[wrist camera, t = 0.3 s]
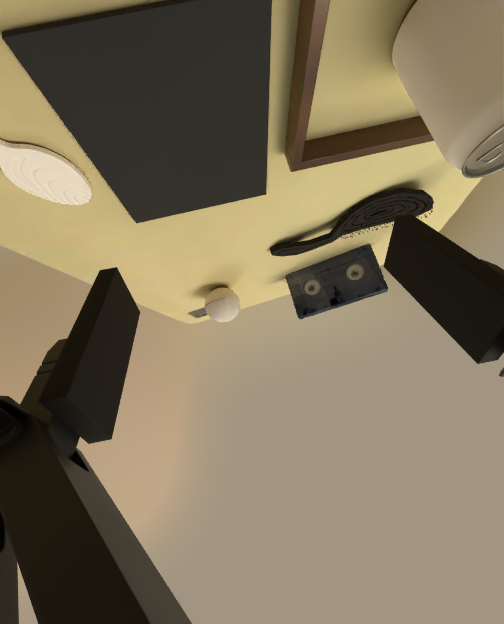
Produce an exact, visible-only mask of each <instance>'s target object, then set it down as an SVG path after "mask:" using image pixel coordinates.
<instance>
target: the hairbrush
mask: <svg viewBox="0 0 504 624" xmlns="http://www.w3.org/2000/svg"><path fill="white" fill-rule="evenodd" d="M416 203H417V204H416ZM433 203H434V201H433V198H432V197H431V196H430V195H429V194H427V193H426V192H425V191H423V190H417V189H406V188H397V189H394V190H390V191H387V192H383V193H380V194H376V195H373V196H370V197H368V198H367V199H365V200H364V201H362V202H360V203H359V204H357V205H356V206H354V207H353V208H352V209H351V210H350V211H349V212H348V213H347V214H346V215H345V216H344V217H343V218H342V219H341V220H340V221H339V222H338V223H337V224H336V226H335V227H334V228H333V229H332V230H331V232H330V233H328V234H325V235H323V236H320V237H317V238H314V239H311V240H307V241H300V242H293V243H287V244H282V245H277V246H274V247H273V248H271V249H270V251H271V254H272V255H274V256H291V255H298V254H301V253H304V252H307V251H310V250H313V249H316V248H318V247H321V246H323V245H326V244H328V243H331V242H333V241H335V240H336V239H338V238H339V237H341V236H342V235H344V236H345V235H346V234H349V233H352V232H355V231H358V230H361V229H364V230H365V228H368V229H370V228H369V227H373V226H374V228H375V226H377V225H379V226H380V224H385V223H387V224H388V223H390V222H393V221H395V217H399V216H404V215H410V214H412V215H413V216H415V217H416V216H418V215H421V214H423V213H424V214H425V212H427V211H428V212H429V210H431V209H433V207H432V206H433ZM431 212H432V210H431ZM429 214H430V213H429ZM418 217H419V216H418ZM425 217H427V216H425ZM421 218H422V217H421ZM392 226H393V225H392ZM385 227H386V226H385ZM387 227H388V226H387ZM376 228H377V227H376ZM382 228H383V227H382ZM376 230H378V229H376ZM372 231H373V230H372ZM358 232H359V231H358ZM360 232H361V231H360ZM362 232H363V231H362ZM367 232H368V231H367ZM356 233H357V232H356ZM352 234H354V233H352ZM358 234H360V233H358ZM363 234H364V233H363ZM346 236H347V235H346ZM354 236H355V235H354ZM350 237H351V236H350ZM352 237H353V236H352ZM341 238H342V237H341ZM343 238H344V237H343ZM347 238H348V237H347ZM345 239H346V238H345Z"/></svg>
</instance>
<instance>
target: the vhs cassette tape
mask: <svg viewBox="0 0 504 624" xmlns="http://www.w3.org/2000/svg"><path fill="white" fill-rule="evenodd" d="M383 278H384V277H383V275H382V272H381V269H380V268H379V264H378V262H377V260H376V256H375V255H374V252H373V250H372V247H371V245H370V244H368V245H365V246H362V247H360V248H358V249H355V250H352V251H349V252H347V253H344V254H341V255H339V256H336V257H334V258H331V259H329V260H326V261H323V262H320V263H318V264H315V265H312V266H310V267H307V268H305V269H302V270H299V271H297V272H294V273H291V274H289V275H287V276H286V280H287V283H288V286H289V289H290V292H291V296H292V299H293V302H294V306H295V309H296V312H297V315H298V318H299V319H303V318H305V317H309V316H313V315H316V314H318V313H322V312H325V311H327V310H330V309H334V308H338V307H341V306H344V305H347V304H350V303H353V302H356V301H359V300H362V299H364V298H367V297H371V296H374V295H378V294H381V293H384V292H387V290H388V287H387V284H386V282H385V280H384V279H383Z"/></svg>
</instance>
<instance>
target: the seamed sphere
mask: <svg viewBox="0 0 504 624" xmlns="http://www.w3.org/2000/svg"><path fill="white" fill-rule="evenodd" d="M239 308H240V301H239V298H238V296H237V295H236V294H235V293H234V292H233V291H232V290H230V289H228V288H216V289H214V290H212V291H211V292H210V293H209V294H208V296H207V297H206V301H205V309H206V312H207V314H208V315H209V317H210V318H212V319H213V320H215V321H217V322H228V321H230V320H232V319H233V318H235V317H236V315H237V314H238V312H239ZM206 312H205V313H206ZM203 314H204V313H203ZM201 315H202V314H201ZM199 316H200V315H199Z"/></svg>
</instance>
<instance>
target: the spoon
mask: <svg viewBox="0 0 504 624" xmlns="http://www.w3.org/2000/svg"><path fill="white" fill-rule="evenodd" d="M0 167H1V169H2V171H3V174H5V175H6V176H7V178H8V179H10V180H11V181H12V182H13V183H14V184H16V185H17V186H18V187H21V189H24V191H26V192H28V193H30V194H31V195H32V194H33V195H36V196H38V197H41V198H44V199H46V200H48V201H53V202H57V203H58V202H59V204H60V203H61V204H63V203H64V204H68V205H69V204H71V205H84V204H86V203H88V202H89V201H91V198H92V189H91V186H90V184H89V182H88V180H87V179H86V177H85V176H84V175H83V174H82V172H81V171H80V170H78V168H77V167H75V166H74V165H73V164H72V163H71V162H69V161H68V160H66V159H65V158H63V157H62V156H60V155H58V154H56V153H55V152H52V151H50V150H47V149H45V148H42V147H37V146H34V145H29V144H12V143H8V142H5V141H3V140H1V139H0Z"/></svg>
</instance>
